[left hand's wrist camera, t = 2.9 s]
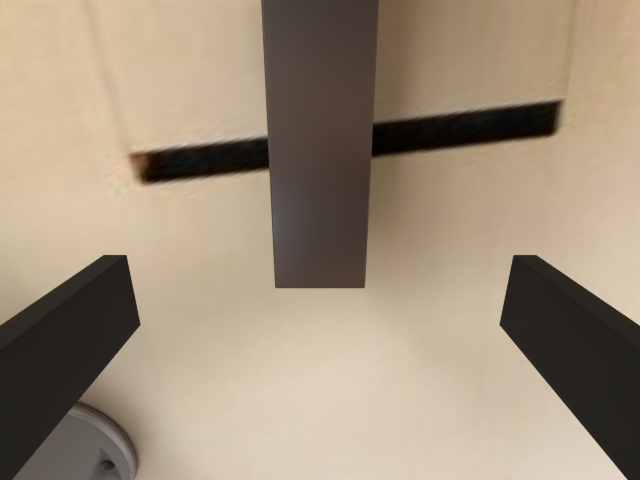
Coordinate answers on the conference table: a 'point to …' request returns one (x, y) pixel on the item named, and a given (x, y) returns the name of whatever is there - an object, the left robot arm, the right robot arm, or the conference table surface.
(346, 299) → the conference table surface
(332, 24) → the beam
